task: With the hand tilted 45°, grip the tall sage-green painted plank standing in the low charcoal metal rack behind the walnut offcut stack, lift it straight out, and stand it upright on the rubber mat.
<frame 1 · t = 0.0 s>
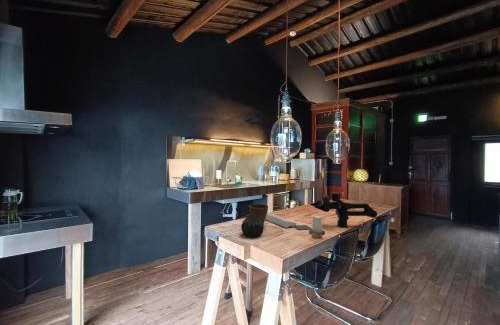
hand: (312, 205, 194), 17 cm above the table, tool horizontal, fingers open, 9 cm apart
offcut rack: (316, 233, 177), on the table
walnut offcut stack: (316, 237, 168), on the table
rubber mat: (302, 227, 190), on the table
squash: (251, 235, 169), on the table
decorative molding: (277, 222, 204), on the table, touching rubber mat
plant pot: (257, 226, 191), on the table
sage plank: (317, 225, 177), in the offcut rack
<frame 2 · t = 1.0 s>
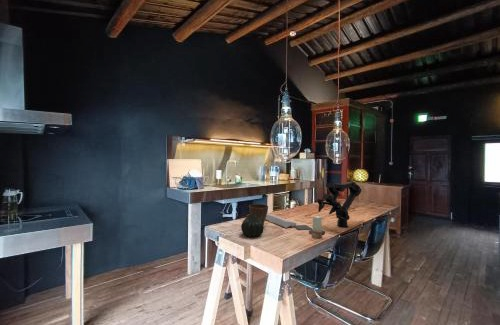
hand: (323, 212, 182), 14 cm above the table, tool tilted 45°, fingers open, 9 cm apart
nothing on the table moved.
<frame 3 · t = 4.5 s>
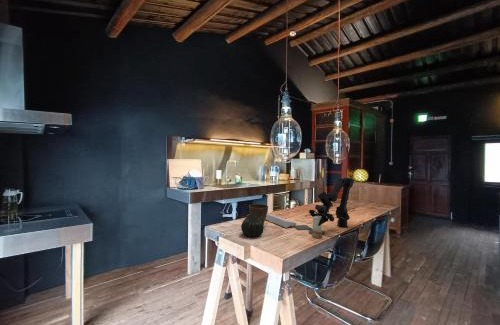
hand: (315, 224, 176), 7 cm above the table, tool tilted 45°, fingers closed on sage plank, 4 cm apart
sage plank: (317, 225, 177), in the offcut rack, touching gripper
everything else where it was.
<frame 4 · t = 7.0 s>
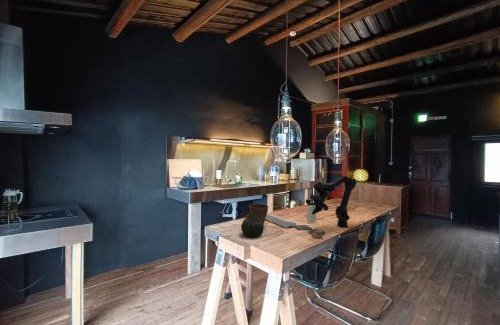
hand: (310, 213, 180), 13 cm above the table, tool tilted 45°, fingers closed on sage plank, 4 cm apart
sage plank: (311, 214, 181), point 13 cm above the table, touching gripper
everything else where it was.
when the fingers open (9 cm above the table, at t = 9.9 s): sage plank drops 1 cm, resting on rubber mat.
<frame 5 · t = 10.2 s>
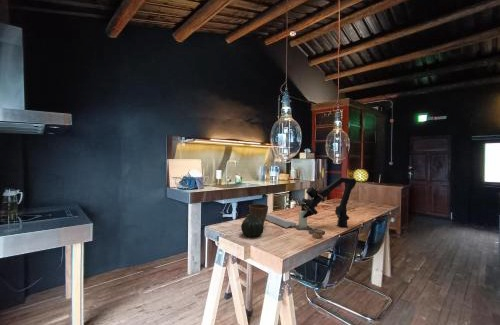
hand: (301, 216, 190), 9 cm above the table, tool tilted 45°, fingers open, 7 cm apart
sage plank: (302, 219, 190), on the rubber mat, point 7 cm above the table
everything else where it was.
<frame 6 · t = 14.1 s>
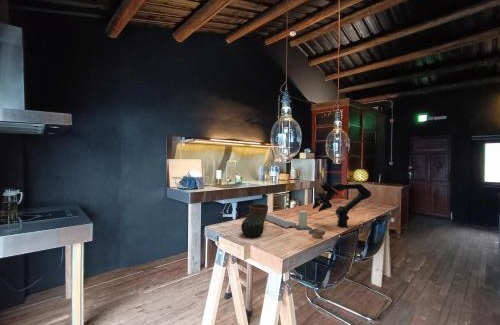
hand: (315, 209, 193), 14 cm above the table, tool tilted 45°, fingers open, 9 cm apart
nothing on the table moved.
at the end: sage plank inside the target area on the rubber mat (0.0 cm from its centre), point 6.8 cm above the rubber mat's base; sage plank tilted 0°; the gripper is holding nothing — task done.
